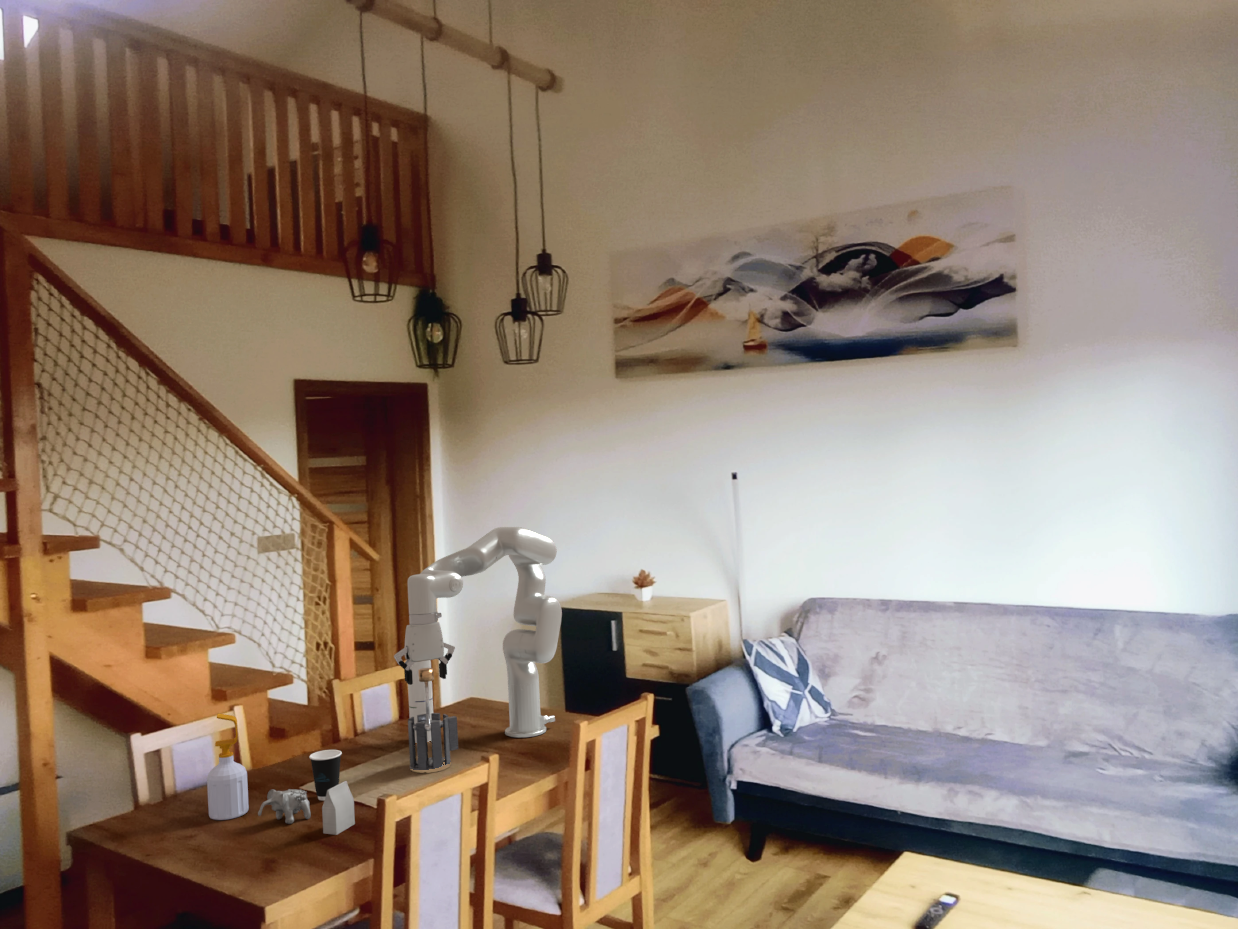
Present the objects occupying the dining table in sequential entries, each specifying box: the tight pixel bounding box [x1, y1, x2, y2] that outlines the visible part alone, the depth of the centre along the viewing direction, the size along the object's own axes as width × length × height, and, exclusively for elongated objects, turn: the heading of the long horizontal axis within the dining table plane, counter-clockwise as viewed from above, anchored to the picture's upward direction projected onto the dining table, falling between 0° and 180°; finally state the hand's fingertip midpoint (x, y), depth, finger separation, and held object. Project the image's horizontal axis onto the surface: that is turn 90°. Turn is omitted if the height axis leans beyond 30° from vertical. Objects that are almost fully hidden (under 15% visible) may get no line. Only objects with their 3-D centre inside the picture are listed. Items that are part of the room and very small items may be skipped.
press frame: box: [407, 712, 459, 770], centre depth 269 cm, size 14×11×14 cm
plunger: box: [413, 667, 443, 731], centre depth 268 cm, size 8×8×16 cm
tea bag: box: [321, 780, 356, 836], centre depth 224 cm, size 4×7×10 cm, turn 159°
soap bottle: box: [206, 713, 250, 821], centre depth 238 cm, size 9×9×25 cm
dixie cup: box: [308, 749, 343, 801], centre depth 247 cm, size 8×8×11 cm
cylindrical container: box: [407, 660, 434, 743], centre depth 295 cm, size 7×7×25 cm
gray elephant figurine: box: [257, 788, 311, 825], centre depth 231 cm, size 9×12×8 cm
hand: (426, 680), depth 268 cm, fingers open, 9 cm apart
